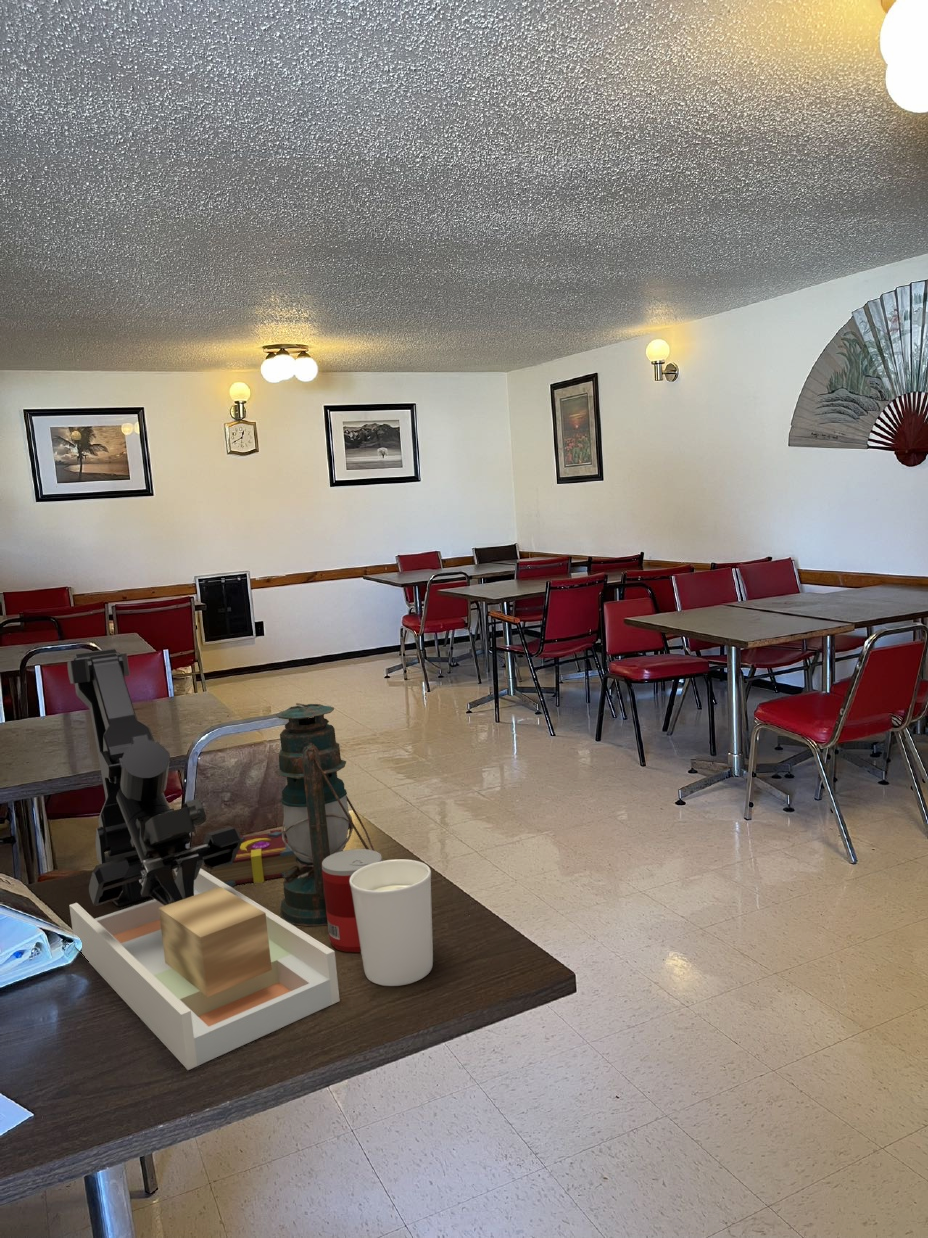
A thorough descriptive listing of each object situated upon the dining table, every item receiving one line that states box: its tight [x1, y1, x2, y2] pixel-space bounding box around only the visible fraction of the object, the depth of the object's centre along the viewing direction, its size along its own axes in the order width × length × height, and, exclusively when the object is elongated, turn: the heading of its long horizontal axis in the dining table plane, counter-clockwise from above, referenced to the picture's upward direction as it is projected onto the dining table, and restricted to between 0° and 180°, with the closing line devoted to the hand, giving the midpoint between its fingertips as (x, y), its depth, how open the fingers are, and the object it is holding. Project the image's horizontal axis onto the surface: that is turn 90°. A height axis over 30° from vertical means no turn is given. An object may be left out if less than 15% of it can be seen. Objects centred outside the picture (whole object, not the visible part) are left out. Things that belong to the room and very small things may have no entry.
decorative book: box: [206, 829, 306, 887], centre depth 146 cm, size 11×16×5 cm
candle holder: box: [349, 858, 434, 987], centre depth 109 cm, size 10×10×12 cm
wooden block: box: [159, 887, 272, 997], centre depth 107 cm, size 12×8×7 cm, turn 41°
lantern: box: [275, 702, 376, 927], centre depth 128 cm, size 19×14×30 cm
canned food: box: [322, 848, 383, 953], centre depth 117 cm, size 8×8×11 cm
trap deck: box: [69, 867, 341, 1071], centre depth 112 cm, size 40×18×6 cm, turn 39°
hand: (191, 922), depth 112 cm, fingers closed
